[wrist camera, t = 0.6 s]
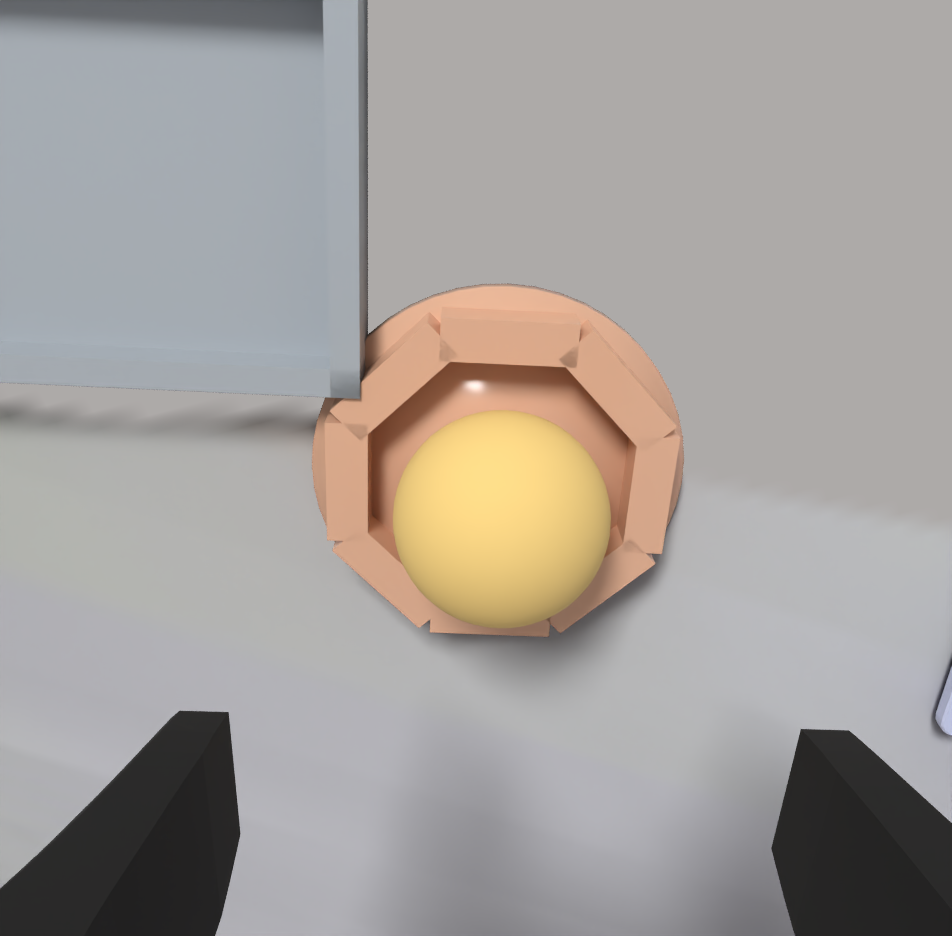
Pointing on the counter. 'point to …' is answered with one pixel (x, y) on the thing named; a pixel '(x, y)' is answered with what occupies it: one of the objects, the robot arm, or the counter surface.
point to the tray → (184, 195)
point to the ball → (501, 519)
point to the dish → (498, 388)
